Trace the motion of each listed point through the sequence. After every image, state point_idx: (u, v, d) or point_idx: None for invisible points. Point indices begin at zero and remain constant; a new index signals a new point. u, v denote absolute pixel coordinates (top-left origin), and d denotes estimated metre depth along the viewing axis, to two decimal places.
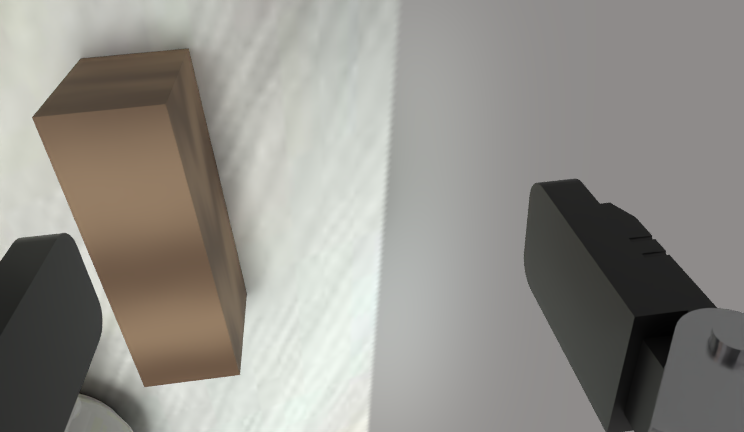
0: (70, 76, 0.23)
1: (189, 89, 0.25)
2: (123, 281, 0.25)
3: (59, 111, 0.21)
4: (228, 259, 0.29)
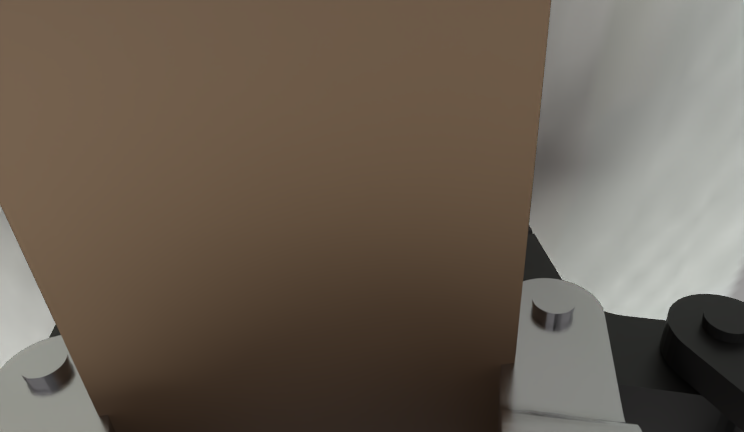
0: None
1: None
2: None
3: None
4: None
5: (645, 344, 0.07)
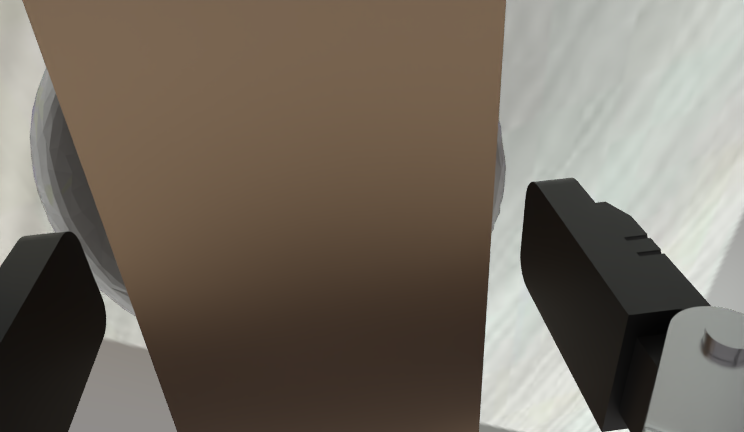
0: None
1: None
2: (234, 408, 0.09)
3: None
4: None
5: None
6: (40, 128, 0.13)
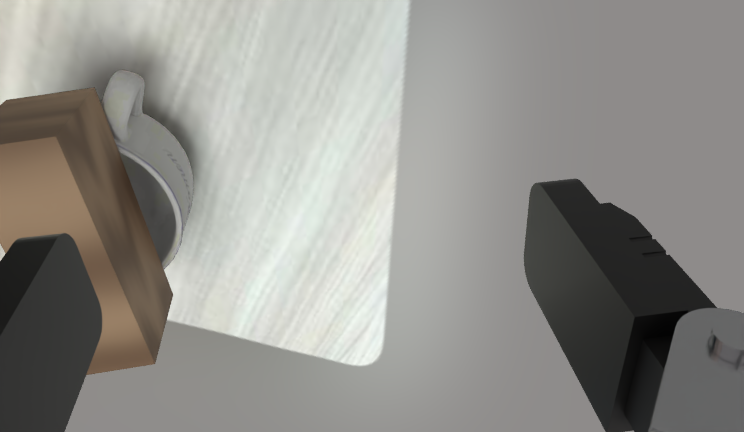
0: None
1: (92, 122, 0.30)
2: None
3: None
4: (143, 265, 0.34)
5: None
6: None
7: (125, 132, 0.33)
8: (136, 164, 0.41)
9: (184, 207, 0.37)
